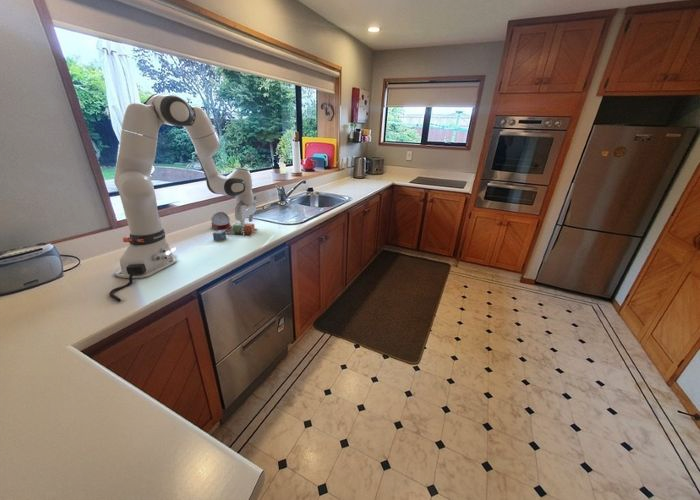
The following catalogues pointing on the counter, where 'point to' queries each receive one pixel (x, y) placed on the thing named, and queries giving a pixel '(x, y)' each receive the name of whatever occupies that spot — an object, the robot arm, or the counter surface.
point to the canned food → (220, 221)
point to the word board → (231, 232)
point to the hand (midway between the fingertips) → (247, 223)
